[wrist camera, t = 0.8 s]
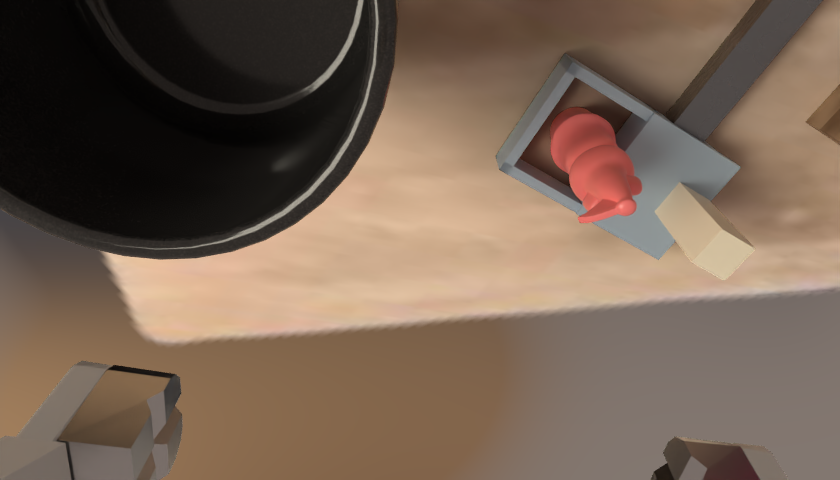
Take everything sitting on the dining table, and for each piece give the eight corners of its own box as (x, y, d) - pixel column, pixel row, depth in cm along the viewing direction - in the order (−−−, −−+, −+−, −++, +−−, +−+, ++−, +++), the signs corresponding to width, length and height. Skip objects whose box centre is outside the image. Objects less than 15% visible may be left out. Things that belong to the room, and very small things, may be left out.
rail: (789, -42, 43) (804, -40, 41) (819, -19, 44) (835, -16, 42) (597, 202, 53) (602, 212, 51) (624, 217, 53) (631, 228, 51)
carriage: (564, 52, 46) (601, 92, 37) (723, 152, 50) (795, 212, 40) (495, 155, 50) (511, 216, 41) (646, 241, 54) (694, 316, 44)
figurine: (556, 172, 51) (599, 263, 38) (531, 120, 49) (567, 198, 36) (614, 144, 50) (679, 228, 37) (591, 89, 48) (651, 158, 35)
